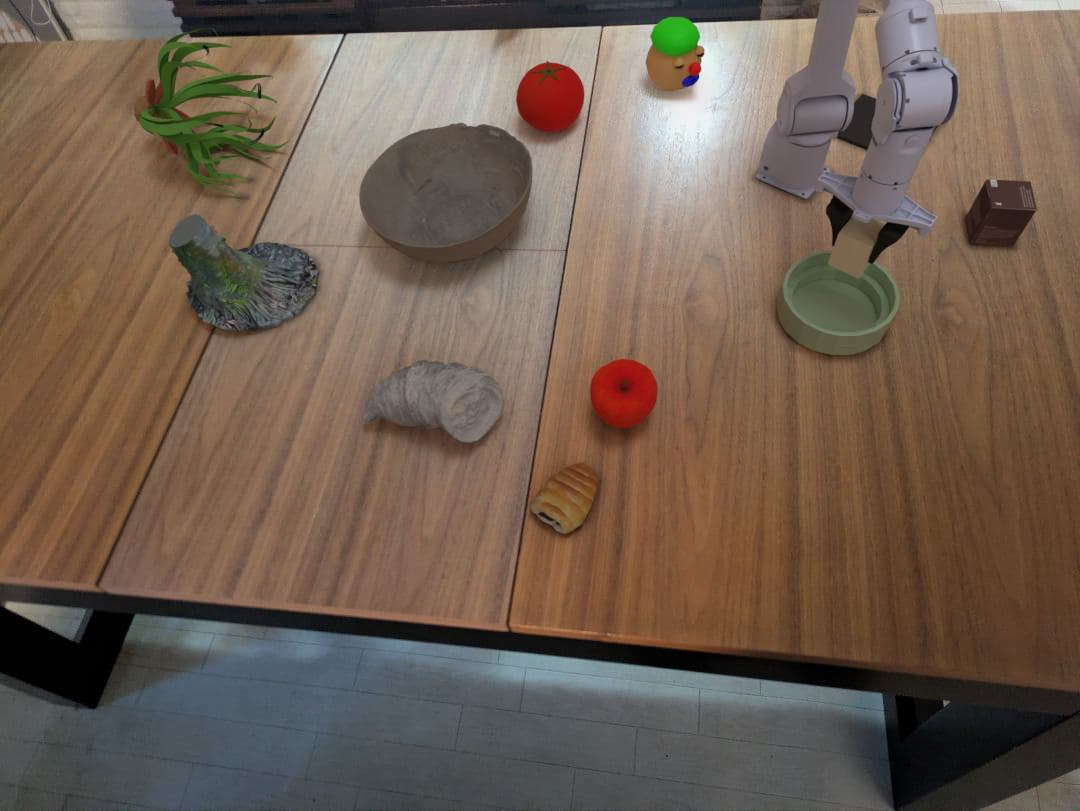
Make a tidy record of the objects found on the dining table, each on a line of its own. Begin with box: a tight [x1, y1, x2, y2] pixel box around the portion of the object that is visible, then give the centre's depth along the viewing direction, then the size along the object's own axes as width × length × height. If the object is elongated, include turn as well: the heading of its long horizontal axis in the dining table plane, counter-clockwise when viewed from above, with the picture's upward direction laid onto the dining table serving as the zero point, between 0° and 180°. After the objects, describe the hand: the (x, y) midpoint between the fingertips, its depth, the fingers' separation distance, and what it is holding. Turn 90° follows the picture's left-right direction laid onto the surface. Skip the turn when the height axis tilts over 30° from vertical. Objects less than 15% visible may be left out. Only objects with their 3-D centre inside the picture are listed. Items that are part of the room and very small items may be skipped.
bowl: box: [358, 122, 534, 264], centre depth 114 cm, size 28×28×10 cm
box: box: [965, 179, 1038, 247], centre depth 103 cm, size 6×6×7 cm
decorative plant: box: [133, 28, 290, 197], centre depth 125 cm, size 26×25×30 cm
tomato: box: [515, 59, 585, 133], centre depth 125 cm, size 11×12×10 cm
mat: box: [836, 93, 940, 151], centre depth 119 cm, size 14×12×1 cm
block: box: [828, 215, 886, 279], centre depth 93 cm, size 4×4×6 cm
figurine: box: [645, 16, 706, 92], centre depth 126 cm, size 11×10×12 cm
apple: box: [589, 358, 659, 429], centre depth 93 cm, size 9×9×8 cm
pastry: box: [530, 461, 599, 535], centre depth 89 cm, size 9×7×4 cm
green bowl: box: [776, 249, 901, 356], centre depth 99 cm, size 15×15×5 cm
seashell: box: [361, 359, 505, 444], centre depth 94 cm, size 16×15×10 cm
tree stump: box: [168, 213, 320, 332], centre depth 109 cm, size 18×20×18 cm
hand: (855, 250), depth 94 cm, fingers closed on block, 4 cm apart
